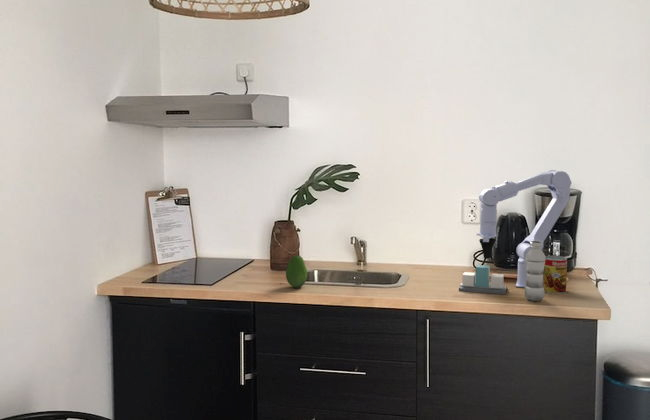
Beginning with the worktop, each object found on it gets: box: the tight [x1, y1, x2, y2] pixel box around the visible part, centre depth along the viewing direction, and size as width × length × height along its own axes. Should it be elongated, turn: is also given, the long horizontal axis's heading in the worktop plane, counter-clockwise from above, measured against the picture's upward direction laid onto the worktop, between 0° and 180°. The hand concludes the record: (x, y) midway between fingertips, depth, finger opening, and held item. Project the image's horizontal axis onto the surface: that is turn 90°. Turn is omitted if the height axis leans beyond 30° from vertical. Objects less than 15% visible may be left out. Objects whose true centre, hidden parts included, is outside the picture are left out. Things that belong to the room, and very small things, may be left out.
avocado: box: [285, 255, 308, 289], centre depth 233 cm, size 8×8×12 cm
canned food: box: [543, 255, 568, 294], centre depth 224 cm, size 8×8×12 cm
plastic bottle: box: [524, 241, 546, 302], centre depth 211 cm, size 6×7×20 cm
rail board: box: [458, 271, 508, 295], centre depth 227 cm, size 16×9×6 cm, turn 70°
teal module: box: [475, 264, 491, 287], centre depth 227 cm, size 4×4×7 cm
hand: (487, 258), depth 231 cm, fingers closed
